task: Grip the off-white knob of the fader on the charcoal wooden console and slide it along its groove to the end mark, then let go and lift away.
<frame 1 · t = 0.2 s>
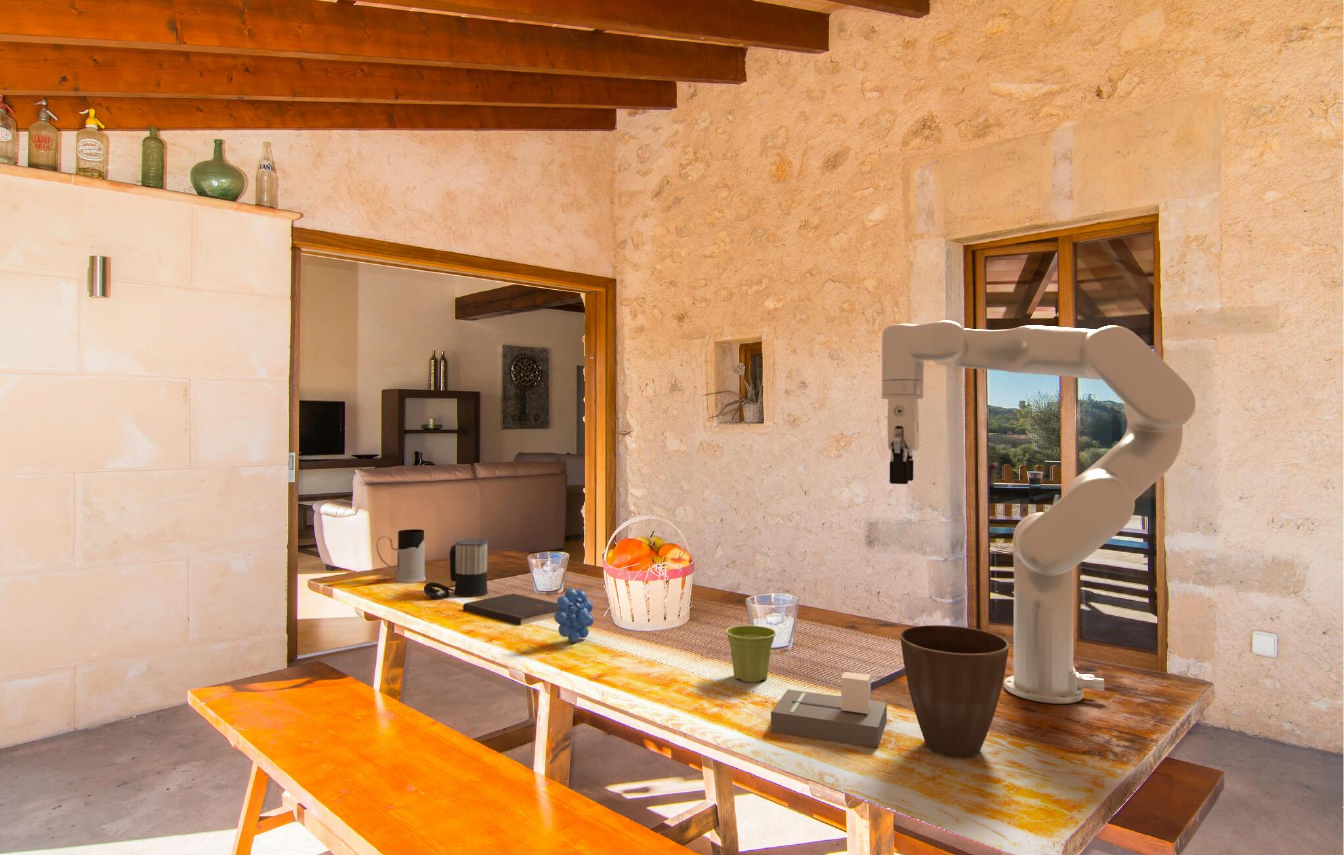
hand: (901, 482, 145), 36 cm above the table, tool pointing down, fingers open, 9 cm apart
plant pot 2: (750, 678, 144), on the table
hardcover book: (516, 614, 195), on the table
console: (829, 726, 120), on the table
fader: (855, 692, 119), point 6 cm above the table, slide at 0.0 cm
milk frother: (456, 596, 214), on the table
plant pot: (952, 749, 113), on the table
grapes: (577, 643, 167), on the table
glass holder: (401, 581, 233), on the table
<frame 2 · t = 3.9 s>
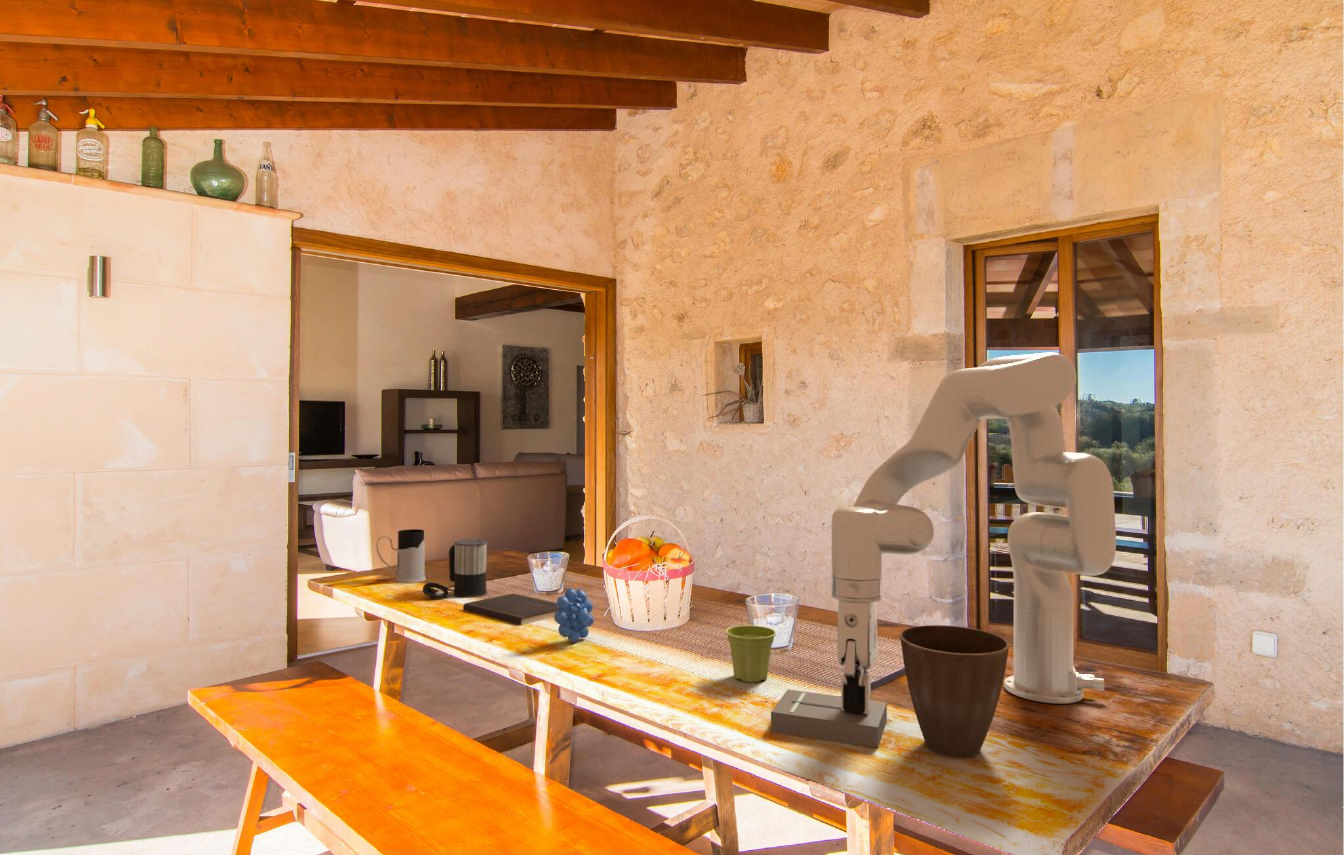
hand: (855, 705, 119), 4 cm above the table, tool pointing down, fingers closed on fader, 3 cm apart
fader: (855, 692, 119), point 6 cm above the table, slide at 0.0 cm, touching gripper
everything else where it was.
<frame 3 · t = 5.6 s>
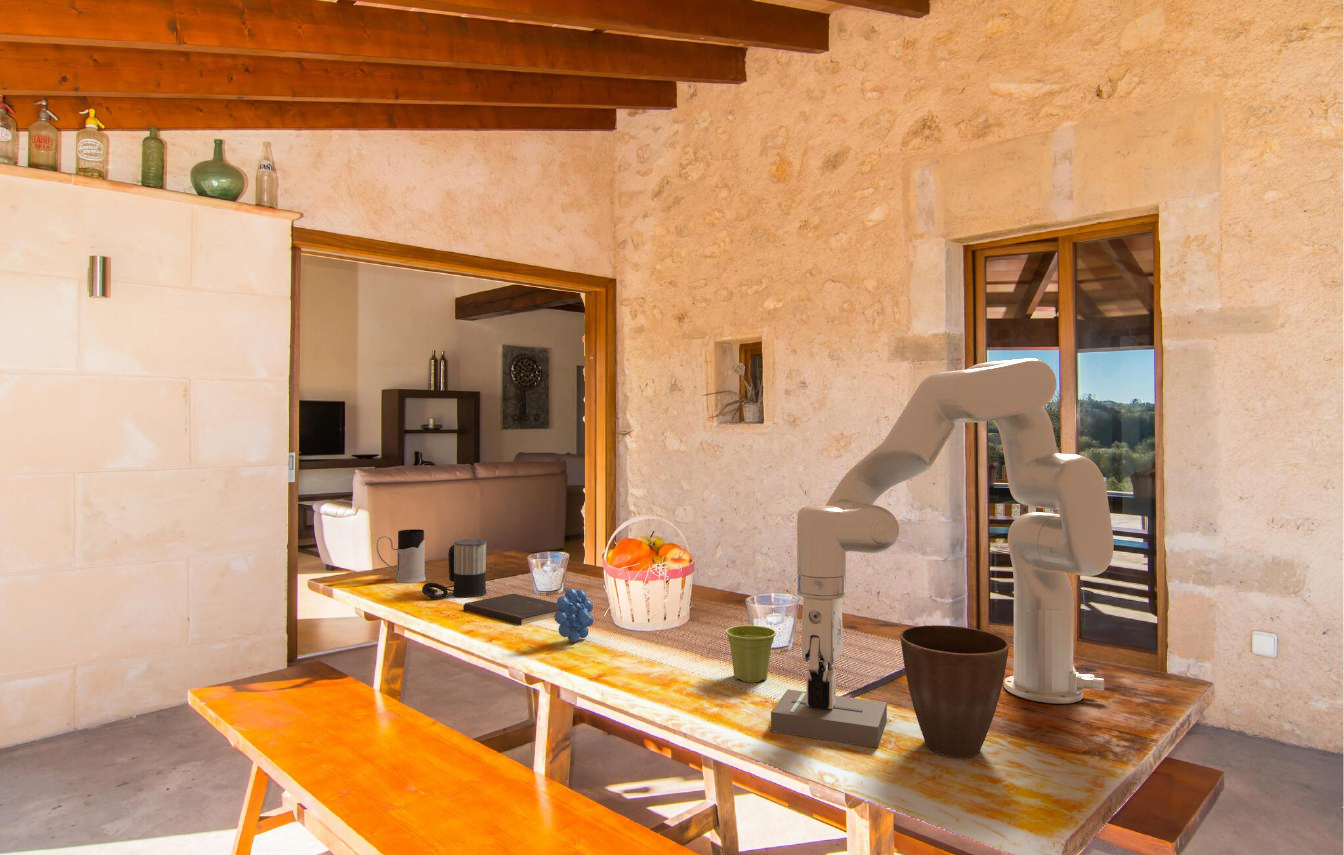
hand: (821, 701, 121), 4 cm above the table, tool pointing down, fingers closed on fader, 3 cm apart
fader: (821, 687, 121), point 6 cm above the table, slide at 5.4 cm, touching gripper
everything else where it was.
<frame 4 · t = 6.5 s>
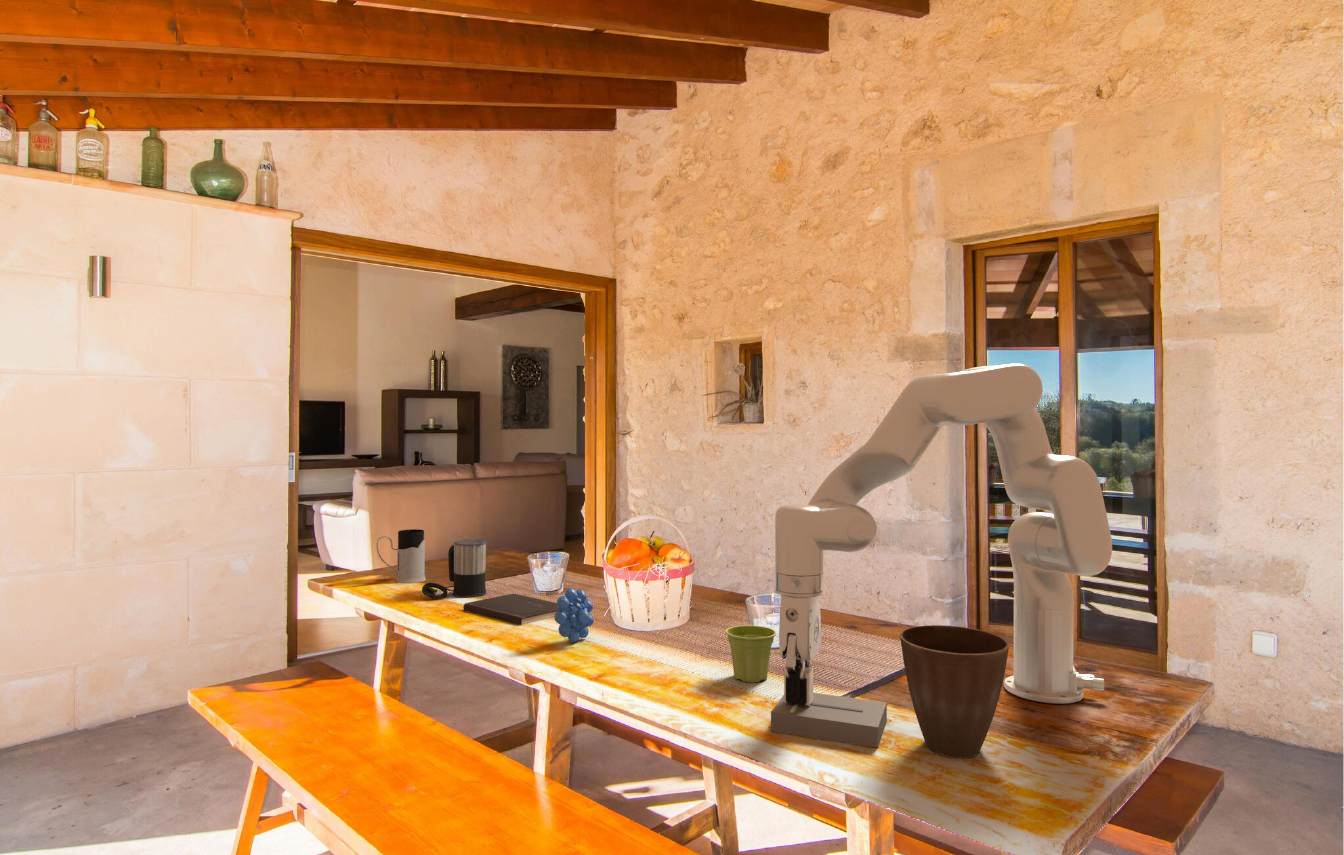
hand: (798, 698, 122), 4 cm above the table, tool pointing down, fingers closed on fader, 3 cm apart
fader: (798, 685, 122), point 6 cm above the table, slide at 8.9 cm, touching gripper
everything else where it was.
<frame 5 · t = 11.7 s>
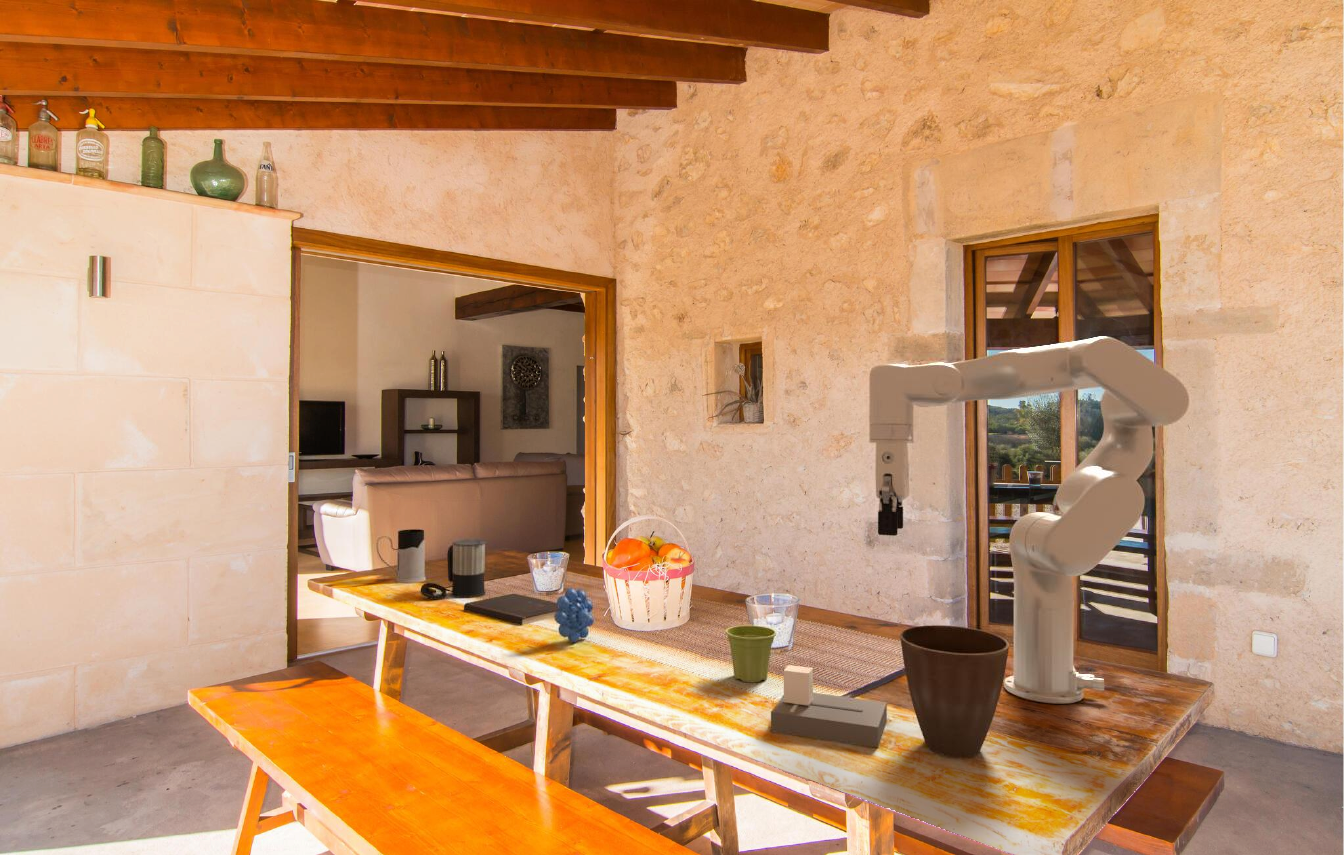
hand: (890, 531, 136), 28 cm above the table, tool pointing down, fingers open, 9 cm apart
fader: (798, 684, 122), point 6 cm above the table, slide at 9.0 cm
at the end: fader slide at 9.0 cm; plant pot moved 0.2 cm from its start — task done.
